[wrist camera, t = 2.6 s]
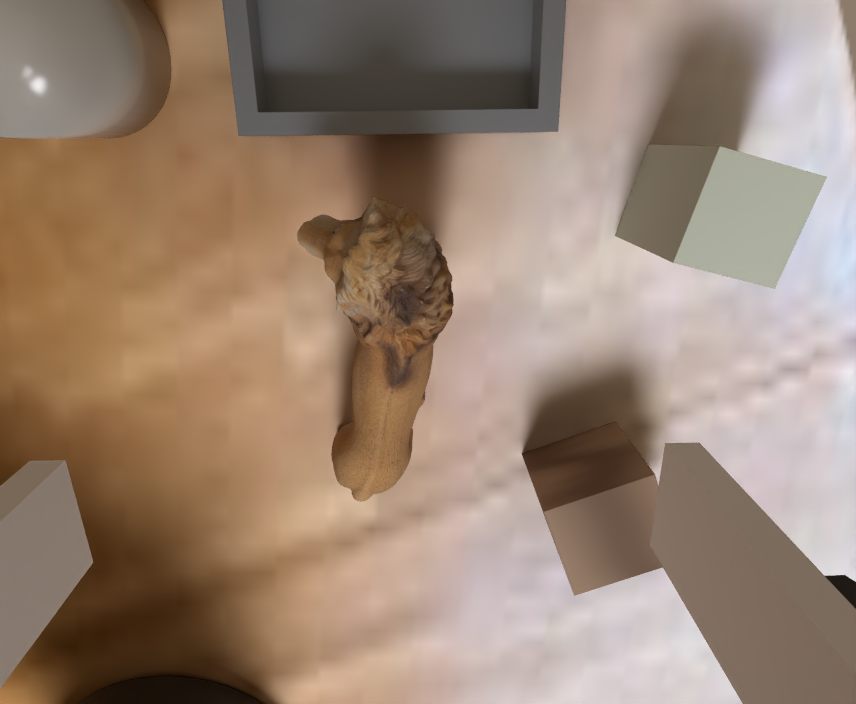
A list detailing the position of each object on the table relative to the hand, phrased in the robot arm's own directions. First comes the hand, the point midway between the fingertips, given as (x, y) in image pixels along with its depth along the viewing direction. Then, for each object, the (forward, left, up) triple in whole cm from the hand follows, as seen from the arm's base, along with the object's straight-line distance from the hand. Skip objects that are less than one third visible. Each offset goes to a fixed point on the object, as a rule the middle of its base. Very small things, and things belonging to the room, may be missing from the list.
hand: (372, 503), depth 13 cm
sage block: (+13, +5, -15) cm, 20 cm away
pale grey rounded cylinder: (-11, +11, -15) cm, 22 cm away
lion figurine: (-1, -1, -15) cm, 15 cm away
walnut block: (+10, -9, -15) cm, 20 cm away
